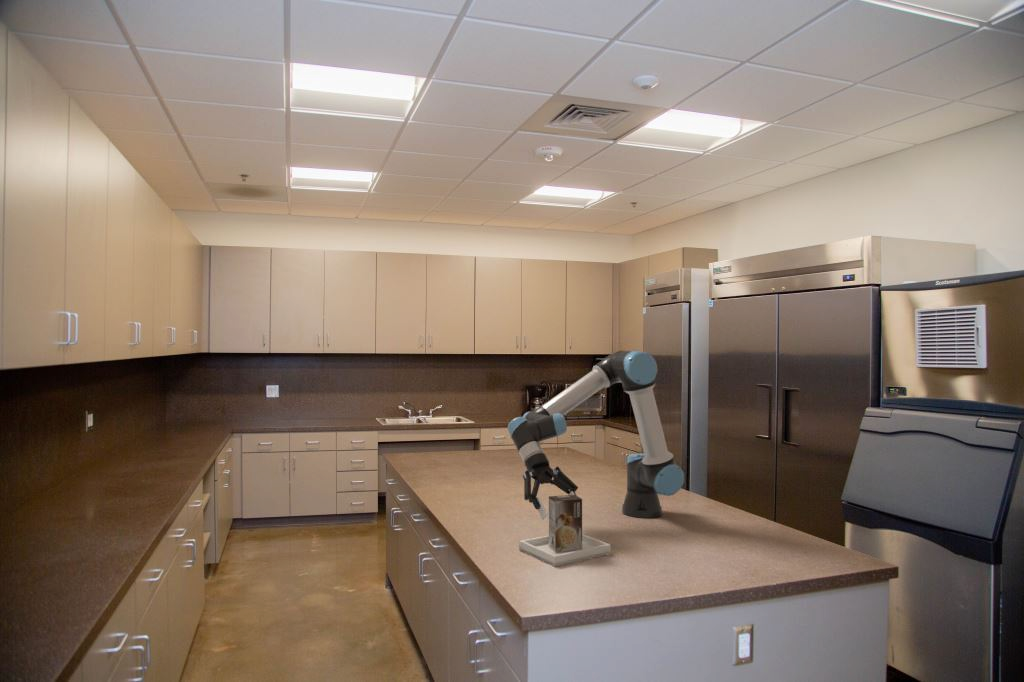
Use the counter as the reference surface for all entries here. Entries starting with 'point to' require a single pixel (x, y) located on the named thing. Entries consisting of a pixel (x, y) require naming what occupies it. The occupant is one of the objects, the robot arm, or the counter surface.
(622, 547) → the counter surface
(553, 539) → the coffee box
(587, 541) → the white tray
